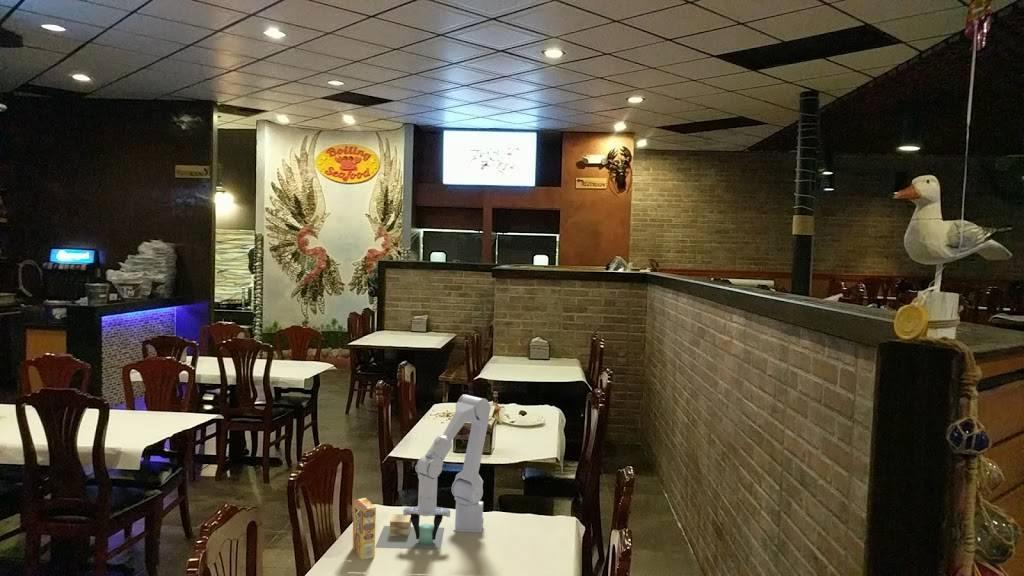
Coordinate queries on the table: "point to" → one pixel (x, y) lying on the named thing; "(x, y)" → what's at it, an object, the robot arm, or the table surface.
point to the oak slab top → (400, 521)
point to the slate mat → (407, 540)
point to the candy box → (364, 528)
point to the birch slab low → (400, 532)
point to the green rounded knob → (426, 534)
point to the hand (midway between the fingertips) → (425, 538)
